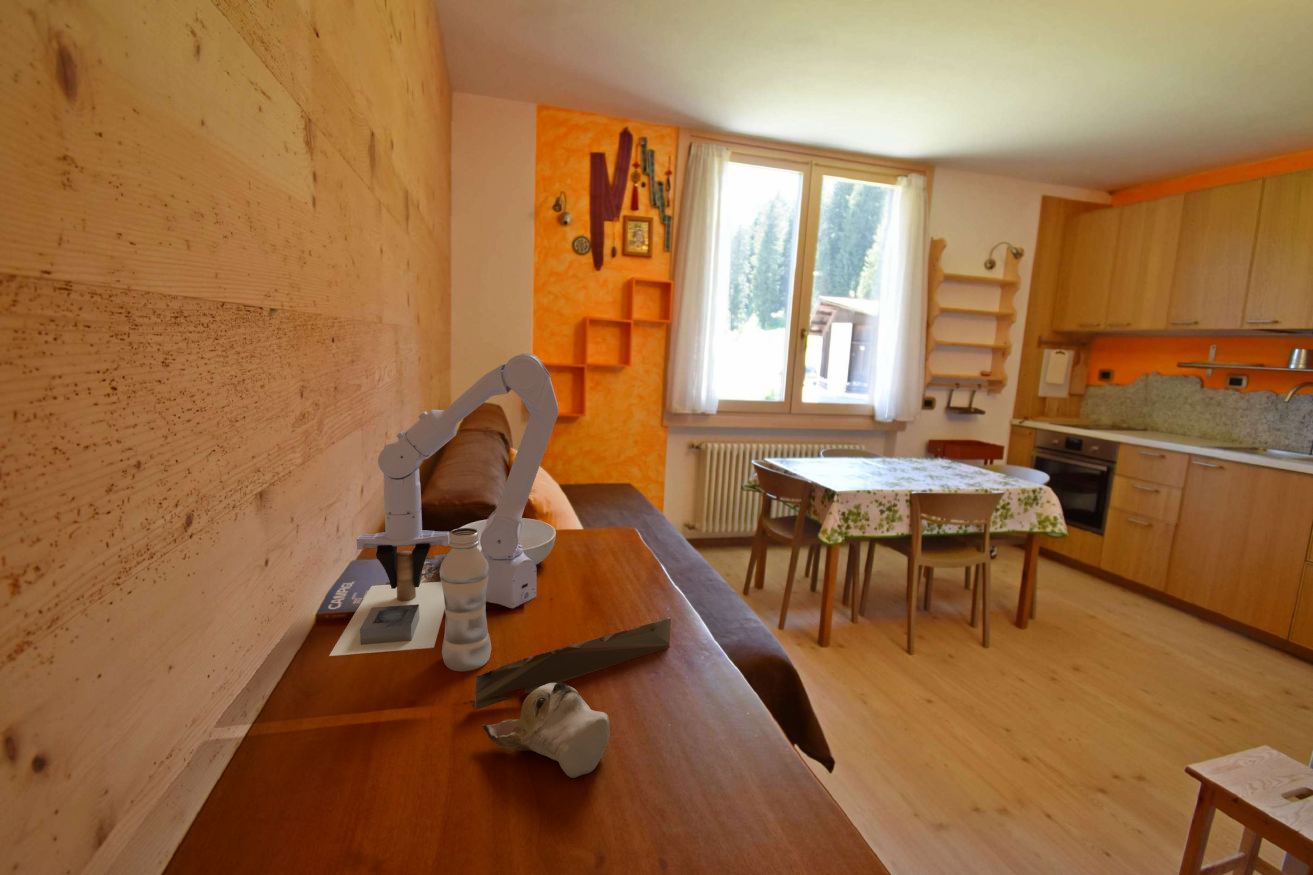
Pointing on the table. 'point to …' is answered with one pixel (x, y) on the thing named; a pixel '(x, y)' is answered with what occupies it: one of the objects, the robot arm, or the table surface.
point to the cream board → (384, 596)
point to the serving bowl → (527, 537)
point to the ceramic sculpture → (556, 729)
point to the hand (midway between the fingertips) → (406, 585)
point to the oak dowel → (405, 576)
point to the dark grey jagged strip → (570, 662)
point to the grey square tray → (389, 624)
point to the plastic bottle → (465, 602)
